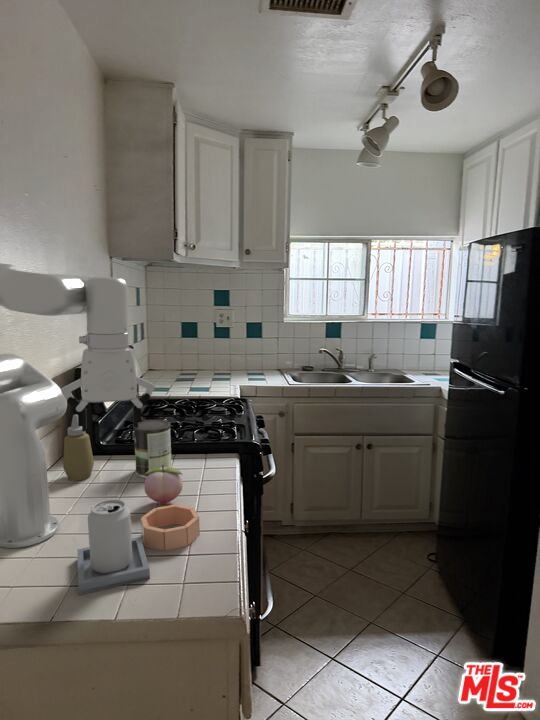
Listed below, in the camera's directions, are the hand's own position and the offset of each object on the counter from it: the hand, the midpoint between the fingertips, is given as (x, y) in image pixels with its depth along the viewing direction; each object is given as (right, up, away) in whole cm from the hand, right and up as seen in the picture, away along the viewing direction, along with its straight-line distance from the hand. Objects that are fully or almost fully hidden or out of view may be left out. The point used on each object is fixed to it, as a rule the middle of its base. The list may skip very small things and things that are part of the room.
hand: (110, 427), depth 94 cm
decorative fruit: (+6, -22, +23) cm, 32 cm away
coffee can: (-2, -19, +43) cm, 47 cm away
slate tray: (+2, -26, -4) cm, 26 cm away
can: (+2, -26, -4) cm, 26 cm away
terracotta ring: (+10, -24, +8) cm, 27 cm away
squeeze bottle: (-22, -20, +39) cm, 49 cm away
